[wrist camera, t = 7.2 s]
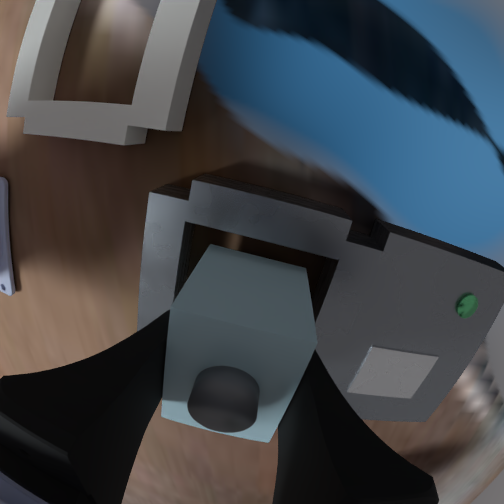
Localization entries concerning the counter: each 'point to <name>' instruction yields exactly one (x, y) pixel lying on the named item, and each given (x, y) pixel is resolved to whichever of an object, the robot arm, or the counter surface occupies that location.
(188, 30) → the white flat square frame
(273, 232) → the port dock
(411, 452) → the counter surface
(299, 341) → the plug
